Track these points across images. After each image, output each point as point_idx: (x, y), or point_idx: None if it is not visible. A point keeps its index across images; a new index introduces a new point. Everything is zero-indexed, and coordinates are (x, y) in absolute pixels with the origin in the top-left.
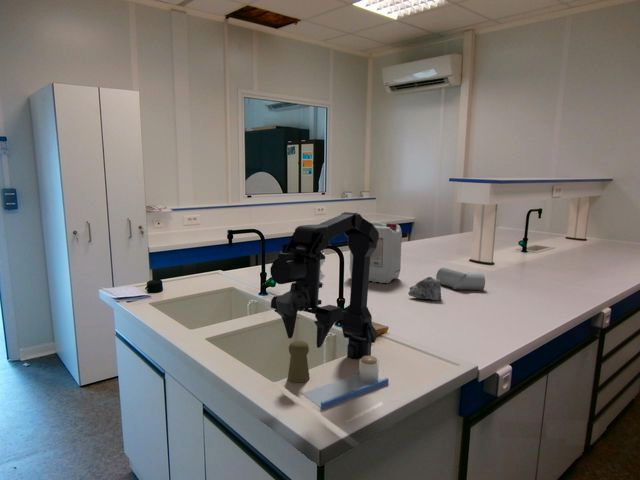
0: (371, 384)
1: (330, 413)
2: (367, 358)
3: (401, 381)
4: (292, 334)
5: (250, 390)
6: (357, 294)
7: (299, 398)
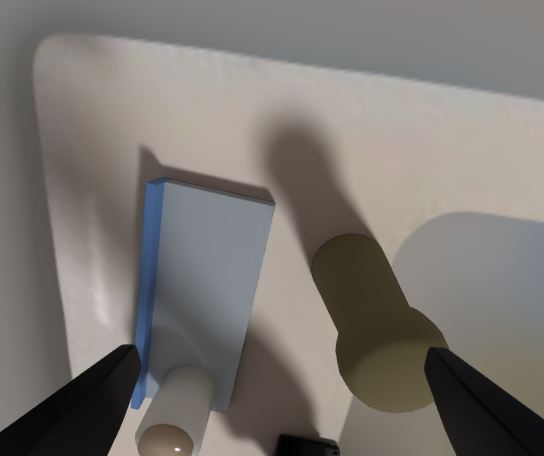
0: None
1: None
2: (169, 450)
3: None
4: (436, 395)
5: (454, 121)
6: None
7: (278, 198)
